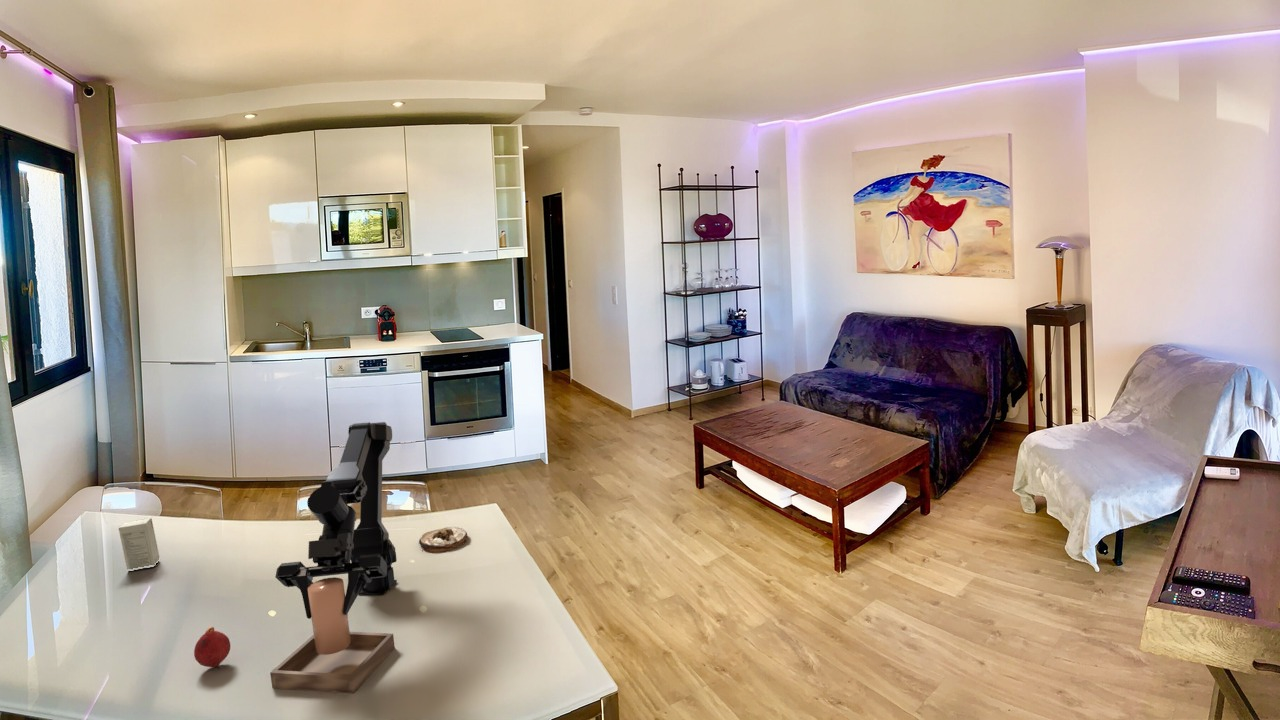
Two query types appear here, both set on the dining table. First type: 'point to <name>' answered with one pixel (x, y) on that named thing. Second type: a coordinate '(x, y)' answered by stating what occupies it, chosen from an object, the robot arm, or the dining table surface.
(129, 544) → the skincare box
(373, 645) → the box
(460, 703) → the dining table surface
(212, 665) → the onion
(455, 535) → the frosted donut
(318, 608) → the terracotta cylinder
